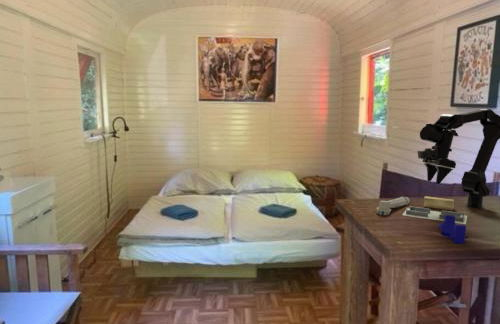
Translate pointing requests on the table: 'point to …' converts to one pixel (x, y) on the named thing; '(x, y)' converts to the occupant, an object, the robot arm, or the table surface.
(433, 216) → the base board
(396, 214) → the table surface
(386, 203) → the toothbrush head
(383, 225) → the table surface
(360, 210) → the table surface
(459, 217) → the chain end links
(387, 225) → the table surface
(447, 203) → the link bar
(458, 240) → the cable clip
